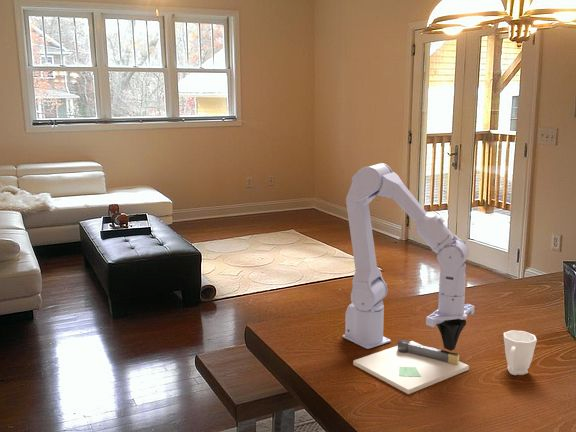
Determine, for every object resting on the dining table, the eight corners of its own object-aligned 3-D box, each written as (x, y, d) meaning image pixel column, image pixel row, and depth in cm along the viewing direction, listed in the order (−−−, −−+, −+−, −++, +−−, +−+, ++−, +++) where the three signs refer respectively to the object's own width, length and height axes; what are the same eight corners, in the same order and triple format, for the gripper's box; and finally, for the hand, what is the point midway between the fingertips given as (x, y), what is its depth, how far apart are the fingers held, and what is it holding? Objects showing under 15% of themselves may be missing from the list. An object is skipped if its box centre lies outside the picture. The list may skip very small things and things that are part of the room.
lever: (395, 350, 136) (395, 342, 136) (400, 346, 138) (400, 338, 138) (455, 365, 128) (456, 357, 128) (460, 361, 130) (460, 353, 130)
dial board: (353, 364, 132) (353, 360, 132) (411, 344, 142) (412, 340, 142) (408, 394, 118) (408, 389, 118) (468, 369, 129) (468, 365, 129)
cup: (538, 368, 129) (540, 334, 127) (526, 386, 121) (528, 350, 119) (505, 360, 133) (508, 327, 131) (492, 377, 125) (494, 342, 124)
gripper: (444, 304, 125) (441, 362, 128) (486, 291, 133) (483, 346, 136) (419, 295, 131) (417, 352, 133) (461, 283, 139) (459, 337, 142)
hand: (449, 348), depth 135 cm, fingers closed
